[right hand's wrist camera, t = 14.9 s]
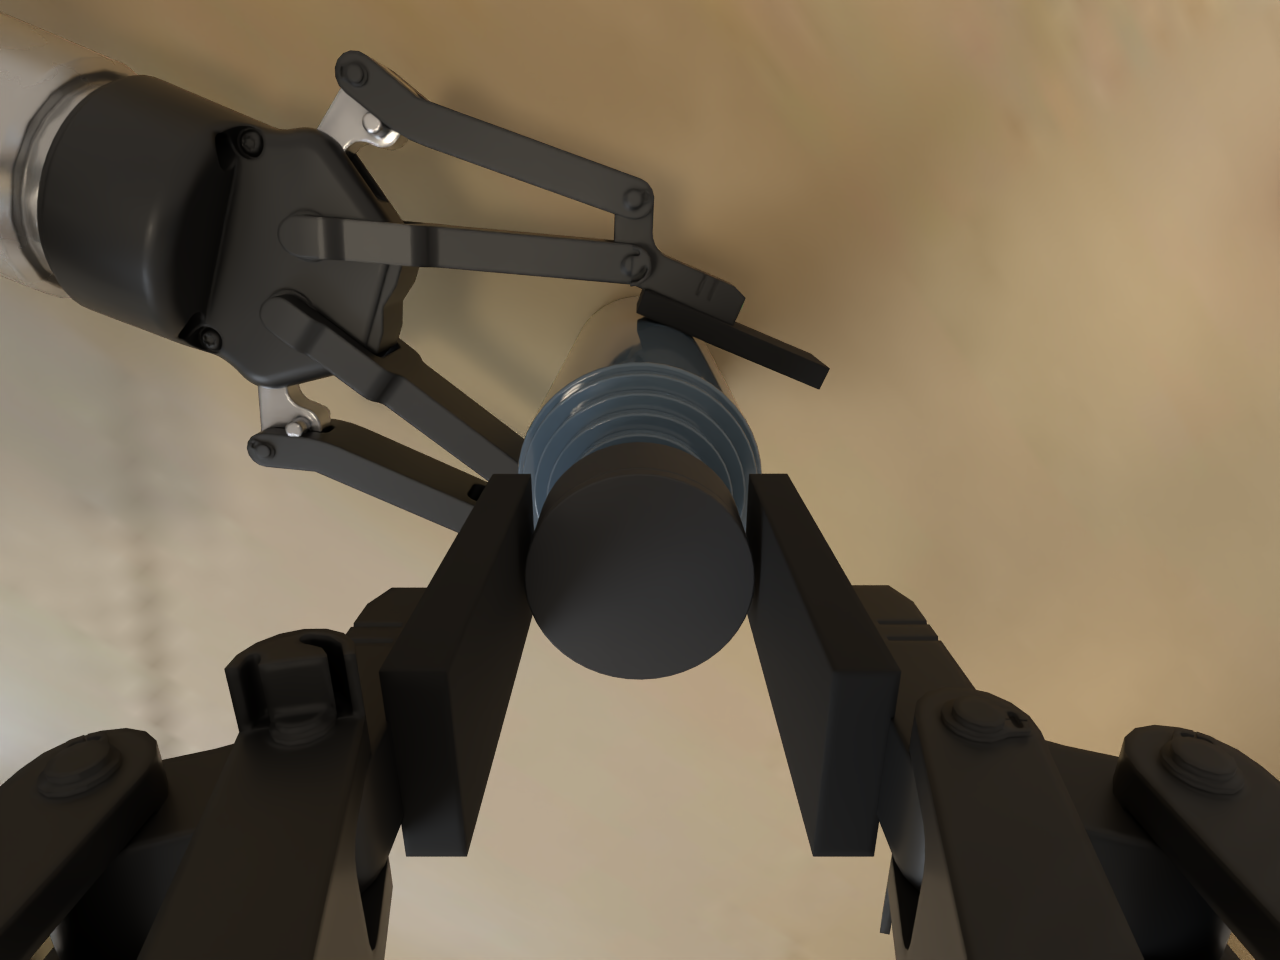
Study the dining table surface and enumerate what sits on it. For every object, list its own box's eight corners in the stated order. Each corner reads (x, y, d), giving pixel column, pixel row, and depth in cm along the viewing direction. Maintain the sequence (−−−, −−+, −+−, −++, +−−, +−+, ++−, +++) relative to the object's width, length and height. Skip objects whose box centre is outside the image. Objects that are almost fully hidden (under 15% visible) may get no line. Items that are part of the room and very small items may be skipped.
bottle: (548, 334, 31) (414, 500, 13) (671, 271, 30) (722, 352, 12) (610, 451, 33) (572, 744, 14) (728, 395, 32) (848, 633, 14)
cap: (625, 659, 15) (623, 716, 14) (496, 523, 14) (475, 566, 12) (781, 552, 14) (800, 598, 13) (657, 399, 13) (659, 425, 12)
